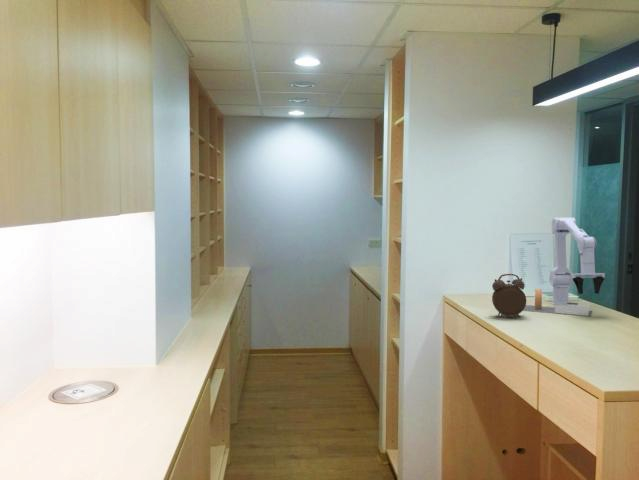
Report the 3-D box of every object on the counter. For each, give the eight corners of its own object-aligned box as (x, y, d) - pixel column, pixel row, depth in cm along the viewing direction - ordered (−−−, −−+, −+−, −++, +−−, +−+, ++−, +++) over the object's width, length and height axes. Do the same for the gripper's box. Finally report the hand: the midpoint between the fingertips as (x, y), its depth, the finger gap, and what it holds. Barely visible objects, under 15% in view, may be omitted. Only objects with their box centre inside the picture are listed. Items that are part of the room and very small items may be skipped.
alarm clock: (522, 315, 246) (522, 272, 244) (526, 318, 239) (527, 275, 237) (490, 315, 247) (490, 272, 245) (493, 318, 240) (494, 275, 238)
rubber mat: (525, 305, 266) (525, 304, 265) (592, 311, 250) (592, 310, 250) (520, 311, 253) (520, 310, 253) (590, 317, 238) (590, 316, 238)
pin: (535, 308, 258) (535, 288, 257) (541, 308, 256) (542, 289, 256) (534, 309, 255) (534, 289, 255) (541, 309, 254) (541, 290, 253)
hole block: (557, 308, 257) (557, 300, 257) (589, 310, 250) (590, 302, 250) (554, 313, 247) (554, 304, 246) (588, 316, 240) (588, 307, 239)
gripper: (577, 263, 235) (578, 294, 234) (608, 263, 236) (609, 293, 235) (568, 263, 242) (569, 293, 241) (598, 263, 243) (600, 293, 242)
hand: (588, 293), depth 238 cm, fingers open, 7 cm apart
